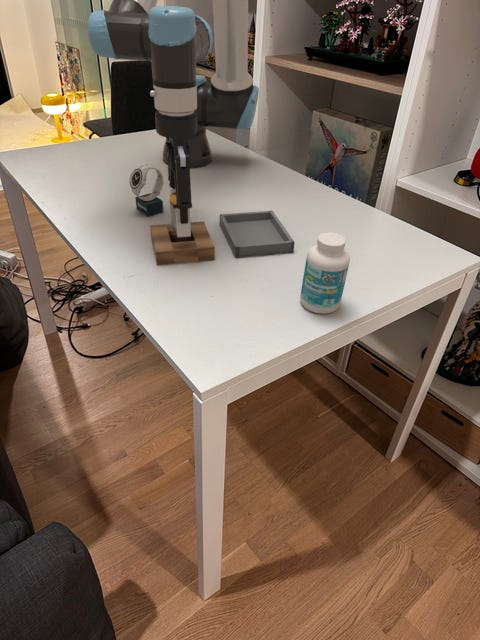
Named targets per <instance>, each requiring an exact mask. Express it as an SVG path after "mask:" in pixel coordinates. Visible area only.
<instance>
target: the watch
mask: <svg viewBox="0 0 480 640" xmlns="http://www.w3.org/2000/svg"><path fill="white" fill-rule="evenodd" d="M149 170H155V172H156V179H155V183H154V187H153V188H152V192H151V193H146V194H142V195H140V193H141V190H142V189H143V188H144V187H145V186H146V185H147V175H148V173H149ZM164 183H165V182H164V176H163V173H162V172H161V170H160V169H158V168H157V167H155V166H153V165H151V164H144V165H141V166H138V167H137V168H134V170H133V171H132V172H131V175H130V177H129V185H130V188H131V191H132V193H133V194H134V196H135V198H134V199H135V206H136V207H135V208H136V210H137V211H138V212H140V213H141V214H143V215H144V216H146V217H147V218H150V217H153V216H156V215H160V214H163V213H164V201H163V200H162V198H159V197H158V196H160V194H161V191H162V189H163V186H164Z"/></svg>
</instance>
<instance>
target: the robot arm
mask: <svg viewBox="0 0 480 640" xmlns="http://www.w3.org/2000/svg"><path fill="white" fill-rule="evenodd" d="M158 1H159V0H112V2H111V4H110V6H109V8H108V10H105V9H101V10H94V11H93V12H91V13H90V15H89V17H88V23H87V34H88V39H89V43H90V46H91V49H92V51H93V52H94V53H95V55H97V56H99V57H102V58H107V59H114V60H126V61H142V62H143V61H144V62H145V61H146V62H150V63H151V71H152V72H151V73H152V75H151V76H152V84H153V85H152V86H153V89H152V90H150V92H149V95H150V97H153V100H154V108H155V109H156V112H155V113H154V119H155V131H156V134H158V135H159V136H161V137H164V138H165V140H164V146H163V150H162V161H163V163H165V164H166V165H167V173H168V174H167V176H168V177H167V180H168V182H169V185H168V186H169V187H170V189H169V192H170V194H171V193H174V192H176V202H177V204H176V205H173V208H176V224H177V237H188V236H191V224H190V222H191V209H192V208H193V203H192V188H191V168H192V169H194V168H201V167H205V166H208V165H209V164H211V163H212V159H213V153H212V149H211V146H210V143H209V140H208V136H207V128H215V129H216V128H217V129H227V130H234V131H238V130H239V131H240V130H242V131H247V130H249V129H251V128H252V126H253V123H254V118H255V115H256V110H257V107H258V106H257V105H258V100H259V90H260V88H259V86H257V85H256V84H255V85H254V79H253V77H252V75H251V74H250V73H249V72H248V71H249V69H248V65H249V64H248V59H249V57H248V56H249V54H248V52H249V51H248V50H249V0H212V13H213V14H212V15H213V31H212V28H211V26H210V24H209V23H208V21H206V19H204V18H203V17H202V16H201V15H197V14H195V12H194V10H193V9H192V8H190V7H187V6H178V5H161V6H160V5H159V6H157V3H158ZM213 32H214V33H213ZM213 35H214V37H213ZM213 41H214V55H215V56H214V57H215V58H214V59H215V73H214V74H213V75H212V76H211V78H210V82H207V78H206V76H205V75H203V74H201V75H200V74H197V64H198V63H200V62H202V61H203V60H204V59H206V58H207V56H208V54H209V53H210V51H211V50H212V46H213ZM170 194H169V195H170Z"/></svg>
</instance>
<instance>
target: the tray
mask: <svg viewBox="0 0 480 640" xmlns="http://www.w3.org/2000/svg"><path fill="white" fill-rule="evenodd" d="M219 226H220V229H221V230H222V232H223V234H224V237H225V239H226V241H227V243H228V245H229V247H230V249H231V252H232V253H233V256H234V257H235V259H239V258H246V257H247V258H250V257H260V256H269V255H279V254H280V255H281V254H282V255H283V254H291V253H294V250H295V249H294V248H295V241H294V239H293V238H292V236H291V235H290V233H289V232H288V230H287V229H286V228H285V226H284V224H282V222H281V220H280V219H279V218H278V217H277V215H276V213H275V212H274V210H262V211H261V210H260V211H259V210H258V211H249V212H235V213H234V212H233V213H221V214H219Z"/></svg>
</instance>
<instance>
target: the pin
mask: <svg viewBox="0 0 480 640" xmlns="http://www.w3.org/2000/svg"><path fill="white" fill-rule="evenodd" d="M176 204H177V202H176V192H174V193H171V194H169V208H170V209H169V211H170V224H171V230H172V242H184V241H191V236H188V237H177V224H176V208H173V205H176Z"/></svg>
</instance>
